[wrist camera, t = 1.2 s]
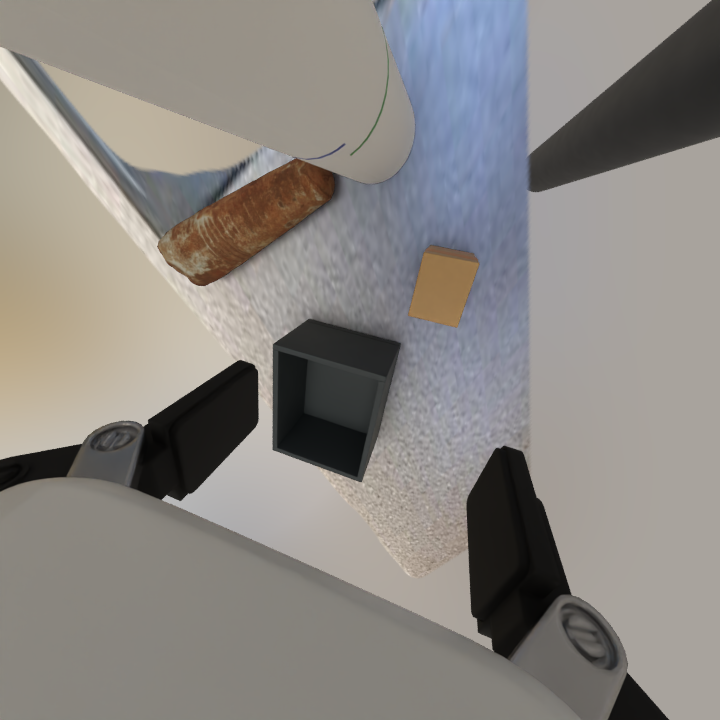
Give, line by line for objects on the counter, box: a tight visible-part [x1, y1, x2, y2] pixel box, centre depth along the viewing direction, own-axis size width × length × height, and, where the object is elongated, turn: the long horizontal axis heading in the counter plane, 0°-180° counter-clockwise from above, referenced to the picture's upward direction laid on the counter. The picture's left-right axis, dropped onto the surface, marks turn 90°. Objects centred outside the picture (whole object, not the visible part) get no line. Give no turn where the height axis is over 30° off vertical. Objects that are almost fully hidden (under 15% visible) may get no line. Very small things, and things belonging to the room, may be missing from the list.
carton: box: [408, 245, 479, 328], centre depth 24 cm, size 5×4×6 cm
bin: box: [273, 319, 401, 482], centre depth 32 cm, size 14×11×8 cm
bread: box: [157, 158, 335, 286], centre depth 28 cm, size 6×19×6 cm, turn 113°
